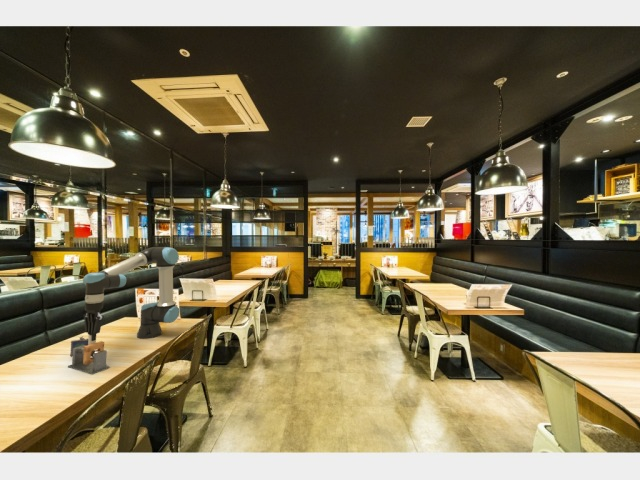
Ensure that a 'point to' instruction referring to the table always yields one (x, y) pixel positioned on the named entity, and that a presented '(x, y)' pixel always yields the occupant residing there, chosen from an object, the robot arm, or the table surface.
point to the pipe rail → (90, 368)
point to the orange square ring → (89, 348)
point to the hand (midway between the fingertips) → (91, 346)
